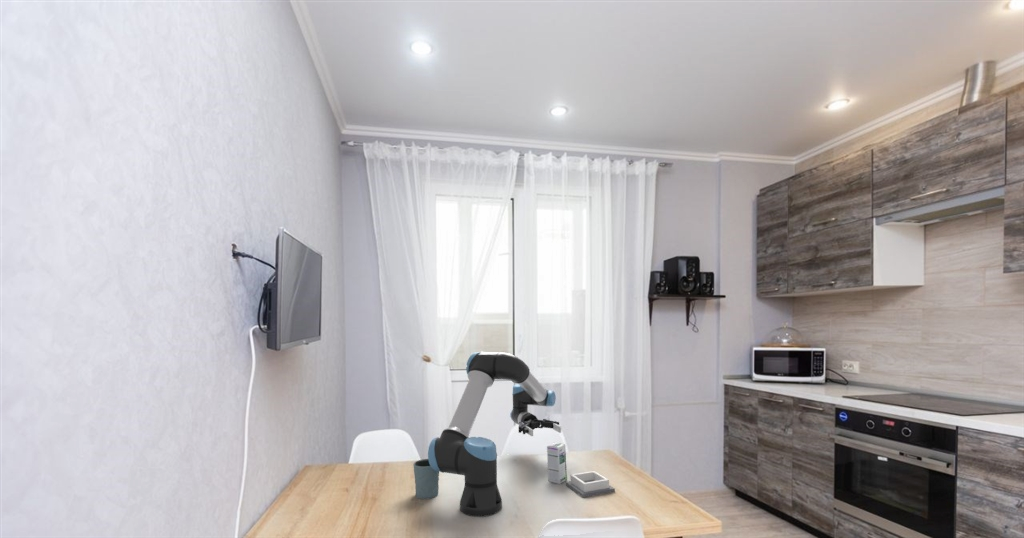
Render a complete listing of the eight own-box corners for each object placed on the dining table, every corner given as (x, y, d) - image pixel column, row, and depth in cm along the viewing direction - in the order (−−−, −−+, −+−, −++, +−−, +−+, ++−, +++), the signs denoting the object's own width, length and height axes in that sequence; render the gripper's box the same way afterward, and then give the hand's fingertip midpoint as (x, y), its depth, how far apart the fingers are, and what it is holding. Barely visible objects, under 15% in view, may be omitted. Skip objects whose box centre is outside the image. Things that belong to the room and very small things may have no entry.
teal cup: (434, 500, 168) (434, 467, 169) (408, 498, 170) (409, 466, 171) (443, 490, 177) (443, 458, 179) (419, 488, 179) (419, 457, 181)
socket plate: (583, 497, 168) (582, 485, 169) (565, 484, 181) (565, 474, 182) (614, 491, 173) (614, 480, 173) (595, 479, 186) (595, 469, 186)
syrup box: (559, 484, 182) (558, 447, 183) (547, 481, 185) (546, 445, 187) (567, 480, 186) (566, 444, 188) (554, 477, 190) (554, 441, 191)
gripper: (551, 426, 221) (571, 436, 201) (503, 431, 212) (520, 443, 192) (550, 410, 222) (571, 419, 202) (503, 415, 213) (520, 425, 193)
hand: (546, 431), depth 197 cm, fingers open, 13 cm apart
